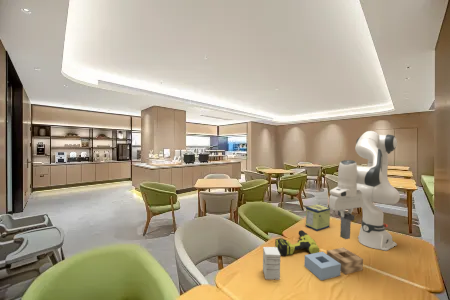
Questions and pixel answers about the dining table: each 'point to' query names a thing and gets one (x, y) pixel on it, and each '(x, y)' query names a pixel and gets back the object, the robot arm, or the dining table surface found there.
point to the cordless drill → (303, 243)
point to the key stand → (346, 260)
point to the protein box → (317, 217)
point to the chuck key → (345, 225)
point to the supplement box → (271, 263)
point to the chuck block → (322, 265)
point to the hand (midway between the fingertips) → (345, 216)
